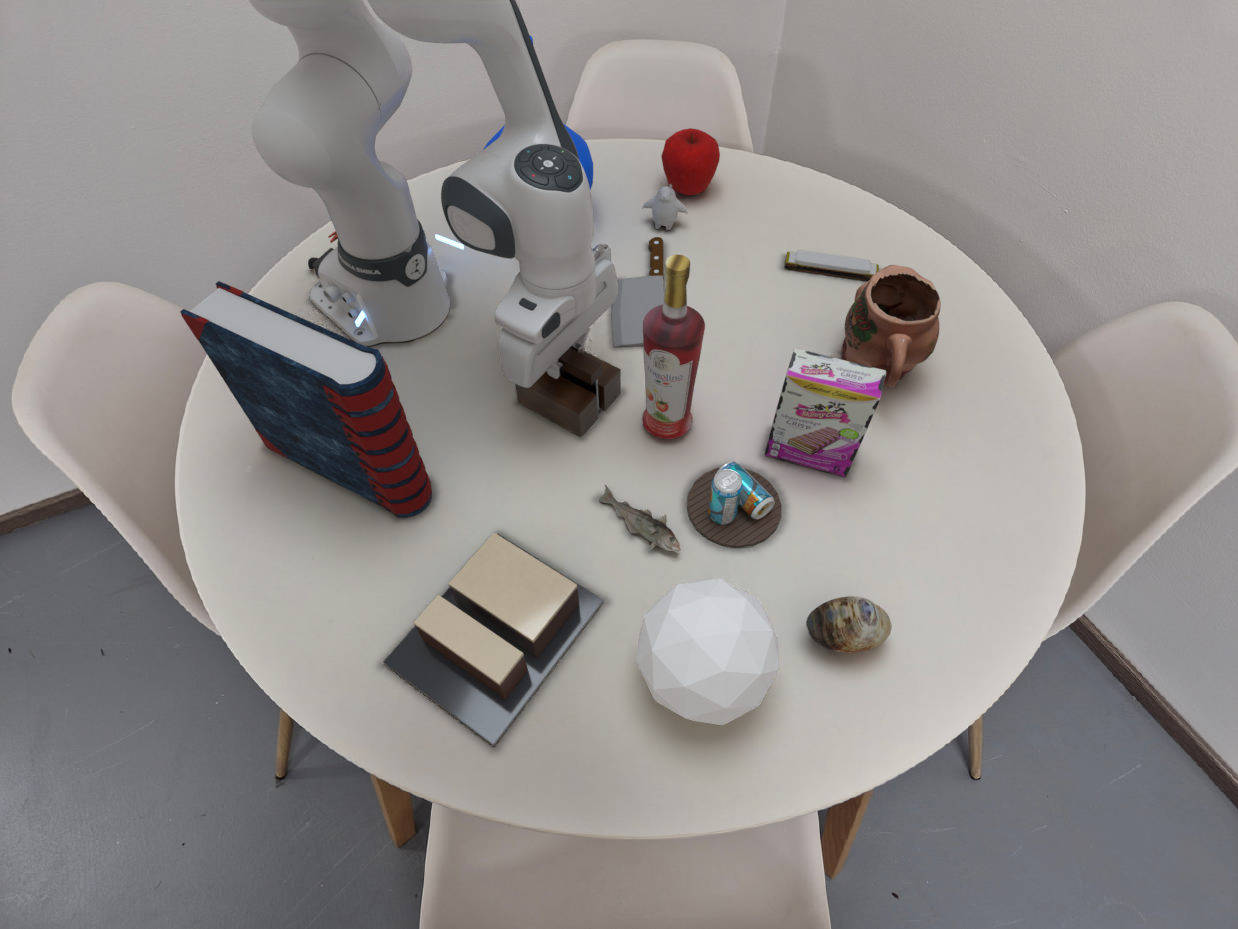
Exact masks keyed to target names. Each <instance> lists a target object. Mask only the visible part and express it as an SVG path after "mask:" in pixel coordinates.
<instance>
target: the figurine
mask: <svg viewBox="0 0 1238 929" xmlns="http://www.w3.org/2000/svg"><path fill="white" fill-rule="evenodd" d="M641 209H642V210H643V209H651V215H652V220H653V221H654V229H658V231H660V229H661V227H662V226H663V227H665V231H666V232H667V231H671V230H672V228H673V225H674V223H675V221H676V219H677V218H678V213H683V214H686V215H688V214H689V211H688V209H687V207H686V206H685V205H684V204H683V203H682V202H681V200H679V199H678V198H677V196H676V191H675V190H674V189H672V185H671V184H670V185H668V186H667V185H666V186H665V185H664V183H663V182H661V184H660V188H659V189H658V190H657V192H656V194H655V195H654V196H653V197H652V198H650V199H648V200H647V201H645V202H644V203H643V206H642V207H641Z"/></svg>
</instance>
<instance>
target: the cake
mask: <svg viewBox="0 0 1238 929" xmlns="http://www.w3.org/2000/svg"><path fill="white" fill-rule="evenodd" d="M448 586H449V587H448V588H447V590H445V592H444V593H443V594H442V595H440V596H441V597H442V598H444V599H445V600H447V601H448V602H450V603H451V604H453V605H454V606H456V607H457V608H458V609H460V610H461V611H463V612H464V613H466V614H467V615H469V616H470V617H472V618H473V619H474V620H476V621H477V622H479V623H480V624H482V625H483V626H485V627H486V628H488V629H489V630H490V631H492V632H493V633H495V634H496V635H498V636H499V637H501V638H502V639H504V640H505V641H507V642H508V643H509V644H511V645H512V646H514V647H515V648H517V649H518V650H520V651H521V652H523V654H524V657H525V661H526V664H527V668H528V671H527V672H526V674H525V675H524V676H523V677H522V679H521V680H520V681H519V683H518V684H517V685H516V686H515V688H514V689H513V690H512V692H511V693H510V694H509V696H508V697H507V698H506V699H504V698H502V697H501V696H499V695H498V694H497V693H495V692H494V691H493V690H491V689H490V688H488V687H487V686H486V685H484V684H483V683H481V682H480V681H479V680H477V679H476V678H474V677H473V676H472V675H470V674H469V673H468V672H466V671H465V670H463V669H462V668H461V667H459V666H458V665H456V664H455V663H454V662H452V661H451V660H450V659H448V658H447V657H445V656H444V655H443V654H441V653H440V652H438V651H437V650H436V649H434V648H433V647H431V646H430V645H429V644H427V643H426V642H425V641H423V639H422V637H421V635H420V634H419V632H418V630H417V628H416V626H415V625H414V626H413V628H412V629H411V630H410V631H409V632H408V633H407V634H406V635H405V636H404V638H403V639H402V640H401V641H400V642H399V644H398V645H397V646H396V647H395V648H394V649H393V650H392V651H391V652H390V653H389V654H388V655H387V657H386V658H385V659H384V660H383V662H382V663H383V665H385V666H386V667H387V668H389V669H390V670H391V671H393V672H394V673H395V674H396V675H398V676H399V677H401V678H402V679H403V680H405V681H406V682H407V683H409V684H410V685H412V686H413V687H414V688H416V689H417V690H418V691H419V692H421V693H422V694H423V695H425V696H426V697H428V699H430V700H431V701H433V702H434V703H435V704H436V705H438V706H439V707H440V708H442V709H443V710H444V711H445V712H447V713H449V714H450V715H451V716H453V718H455V719H457V721H459V722H460V723H462V724H463V725H465V727H467V728H469V730H471V731H473V733H475V734H476V735H478V736H479V737H480V738H482V739H483V740H485V741H486V742H487V743H488V744H490V745H491V746H492V747H496V745H497V743H498V742H499V741H500V740H501V738H502V737H503V736H504V735H505V733H506V732H507V730H508V729H509V728H510V727H511V725H512V724H513V722H514V721H515V720H516V719H517V717H518V716H519V714H520V713H521V712H522V710H523V709H524V708H525V706H526V705H527V704H528V702H529V701H530V700H531V699H532V698H533V696H534V695H535V693H536V692H537V691H538V690H539V688H540V687H541V685H542V684H543V683H544V682H545V681H546V679H547V678H548V676H549V675H550V673H551V672H552V671H553V670H554V668H555V667H556V665H558V663H559V662H560V660H562V657H563V656H564V655H565V654H566V652H567V651H568V650H569V649H570V647H571V646H572V644H573V643H574V642H575V640H576V639H577V638H578V636H579V635H580V634H581V632H582V631H583V630H584V628H585V627H586V626H587V625H588V623H589V622H590V620H591V619H592V618H593V617H594V616H595V614H596V613H597V611H598V610H599V609H600V608H601V606H602V605H603V603H604V599H603V598H601V597H600V596H598V595H597V594H595V593H593V592H592V591H590V590H589V589H587V588H586V587H585V586H582V585H580V584H579V583H577V582H576V581H574V580H573V579H571V578H570V577H568V576H566V575H565V574H564V573H562V572H560V571H558V570H557V569H555V568H554V567H552V566H550V565H549V564H547V563H546V562H544V561H542V560H541V559H540V558H538V557H536V556H534V555H533V554H531V553H530V552H529V551H526V550H525V549H523V547H520V546H519V545H517V544H516V543H514V542H512V541H511V540H509V539H508V538H506V537H505V536H503V535H501V534H500V533H496V532H493V533H492V534H491V535H490V536H489V537H488V538H487V540H486V541H485V542H484V543H483V544H482V545H481V546H480V548H478V550H476V552H475V553H474V554H473V555H472V556H471V558H470V559H468V561H466V563H465V564H464V565H463V567H461V568H460V570H459V571H457V573H456V574H455V576H453V577H452V579H450V581H449V582H448Z"/></svg>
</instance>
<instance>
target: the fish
mask: <svg viewBox="0 0 1238 929" xmlns="http://www.w3.org/2000/svg"><path fill="white" fill-rule="evenodd" d="M604 487H605V488H604V494H602V496H600V497H599V498H598V502H601V503H603V504H610V505H612V506H613V507H614V509H615V511H616V515H617V517H620V518H621V517H623V518H624V519H625V520H624V523H625V524H626V527H627V529H628V530H629V533H630V534H640V536H642V537H644V538H645V539H646V540H648V541H649V542H651V546H650V551H652V550H653V549H654V548H655V547H656V546H657V547H658V548H661V549H662V550H664V551H666V552H674V553H679V552H682V549H681V544H680V542H679V540H678V538H677V537H676V534H675V533H674V532H673V530H672V529H671V528H669V527H668V526H667V522H668V521H667V520H668V518H667V514H664V515H662V516H661V517H657V518H654V516H653V514H652V512H651V510H650V508H649V509H648V508H647V507H646V508H645V509H644V510H643V509H638V508H634V507H632V506H631V504H629V502H628V501H627V500H624V501H617V499H616V498H615V496H614V494H613V492H612V491H611V489H610V488H609V487H608V486H607V485H606V484H604Z"/></svg>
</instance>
